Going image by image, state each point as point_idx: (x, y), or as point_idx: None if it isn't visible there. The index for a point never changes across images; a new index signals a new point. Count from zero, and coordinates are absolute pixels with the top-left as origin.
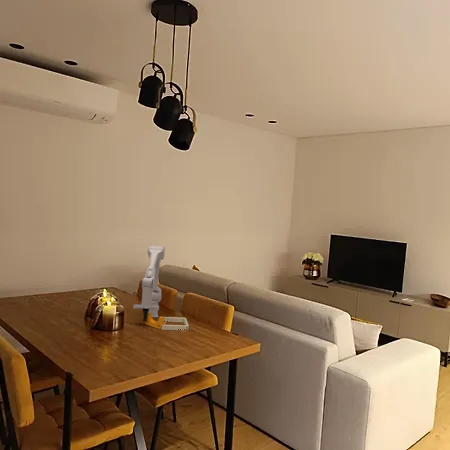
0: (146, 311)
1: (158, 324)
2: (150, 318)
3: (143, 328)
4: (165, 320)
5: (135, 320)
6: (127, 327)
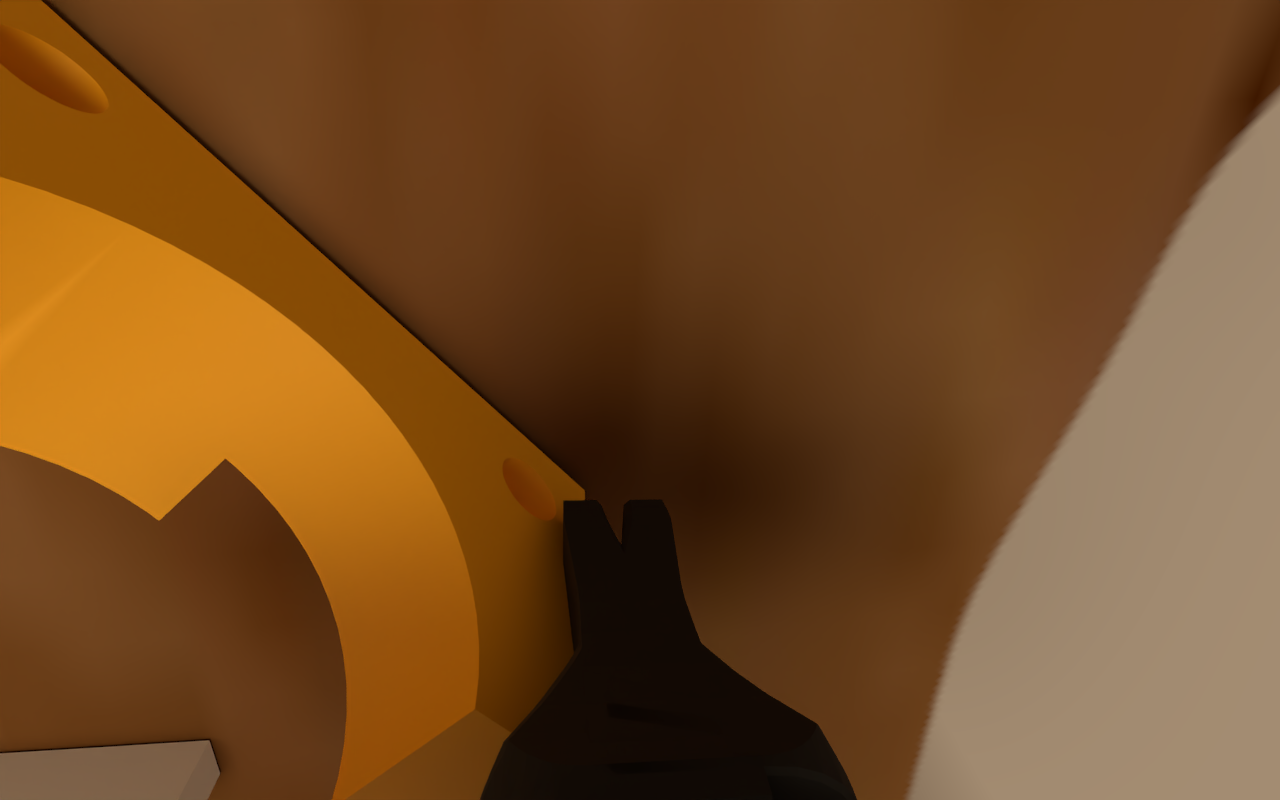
0: (620, 748)
1: (14, 82)
2: (414, 555)
3: (651, 104)
4: (54, 780)
5: None
6: (1101, 187)
